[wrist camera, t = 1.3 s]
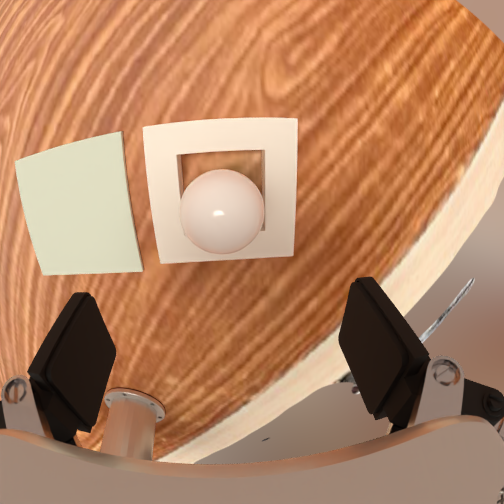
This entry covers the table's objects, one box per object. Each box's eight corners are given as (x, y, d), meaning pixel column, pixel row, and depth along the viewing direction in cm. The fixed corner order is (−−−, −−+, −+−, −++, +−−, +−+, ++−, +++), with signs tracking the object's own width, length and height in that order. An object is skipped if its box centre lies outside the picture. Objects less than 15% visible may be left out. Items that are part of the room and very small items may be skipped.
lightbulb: (189, 214, 28) (171, 266, 18) (194, 154, 25) (174, 174, 15) (249, 219, 29) (262, 273, 19) (257, 160, 26) (278, 184, 16)
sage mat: (143, 269, 30) (142, 271, 30) (44, 273, 29) (43, 275, 29) (122, 131, 23) (120, 131, 23) (17, 160, 22) (14, 161, 21)
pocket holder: (288, 245, 31) (293, 255, 28) (164, 252, 30) (160, 263, 27) (291, 118, 24) (297, 118, 22) (149, 126, 23) (142, 127, 21)
